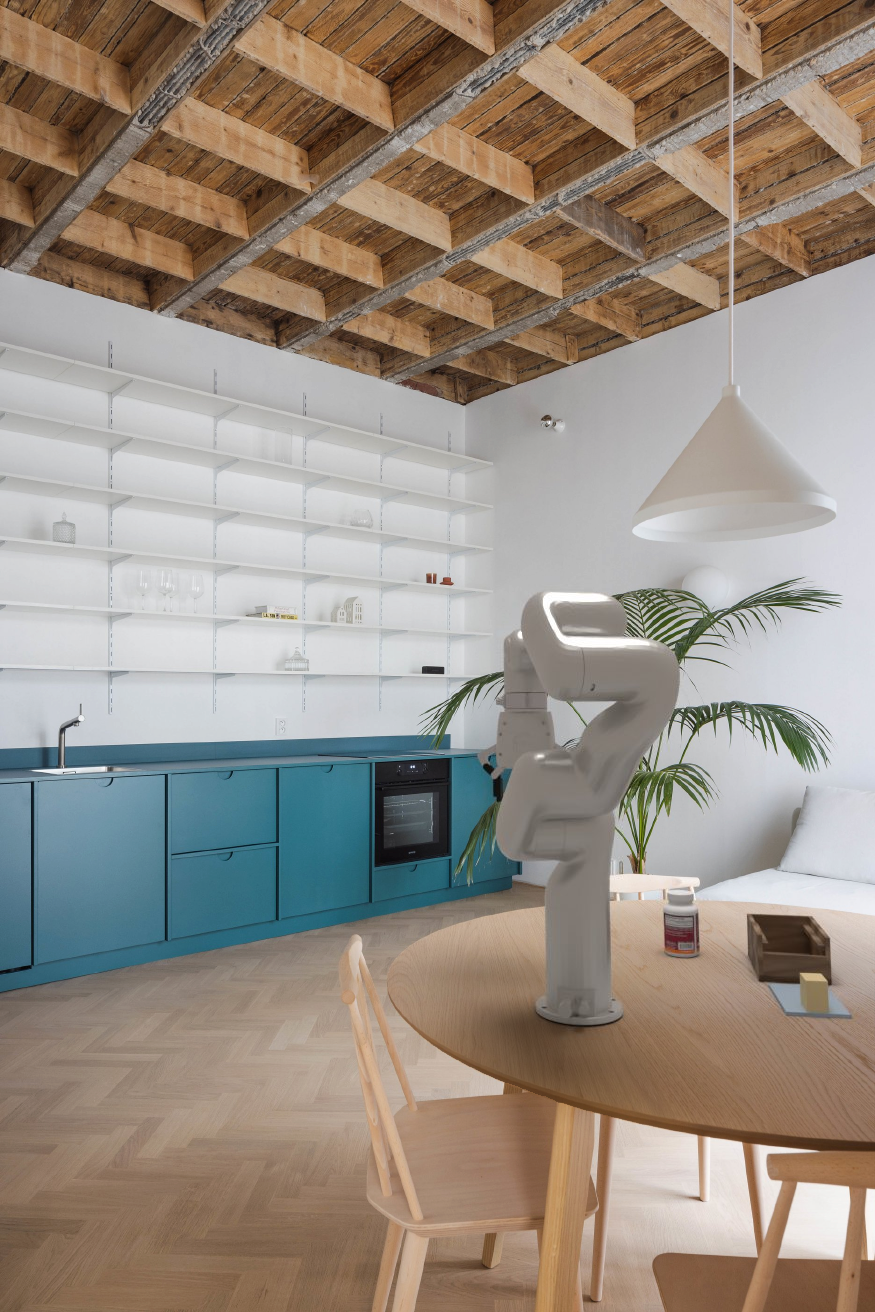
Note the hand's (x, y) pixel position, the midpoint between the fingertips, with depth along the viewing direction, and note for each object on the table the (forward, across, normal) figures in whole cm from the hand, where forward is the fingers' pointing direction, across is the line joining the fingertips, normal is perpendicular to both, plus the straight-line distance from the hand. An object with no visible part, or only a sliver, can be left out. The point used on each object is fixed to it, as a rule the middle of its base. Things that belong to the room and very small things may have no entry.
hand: (527, 801), depth 158 cm
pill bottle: (+28, +26, +14) cm, 41 cm away
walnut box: (+28, +43, +7) cm, 52 cm away
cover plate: (+29, +43, -10) cm, 53 cm away
